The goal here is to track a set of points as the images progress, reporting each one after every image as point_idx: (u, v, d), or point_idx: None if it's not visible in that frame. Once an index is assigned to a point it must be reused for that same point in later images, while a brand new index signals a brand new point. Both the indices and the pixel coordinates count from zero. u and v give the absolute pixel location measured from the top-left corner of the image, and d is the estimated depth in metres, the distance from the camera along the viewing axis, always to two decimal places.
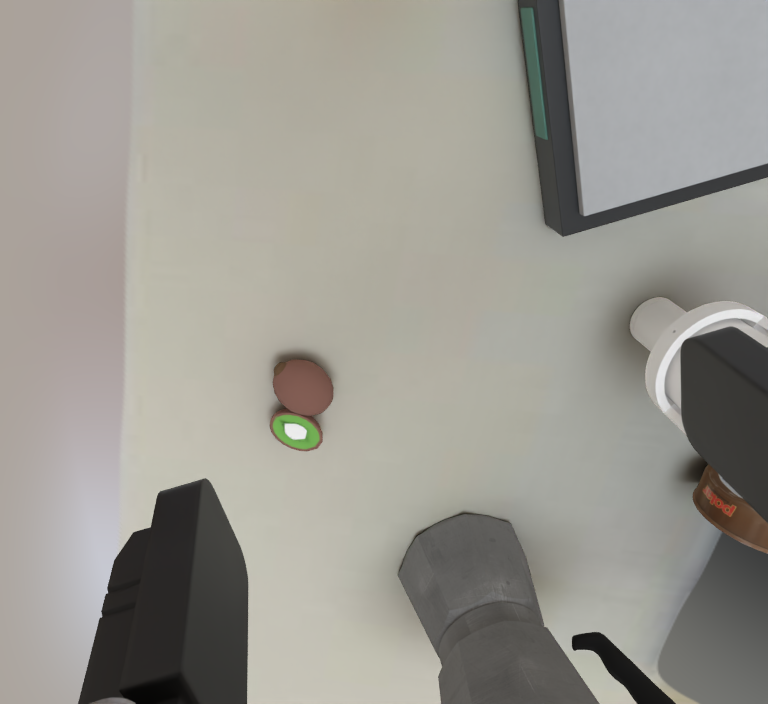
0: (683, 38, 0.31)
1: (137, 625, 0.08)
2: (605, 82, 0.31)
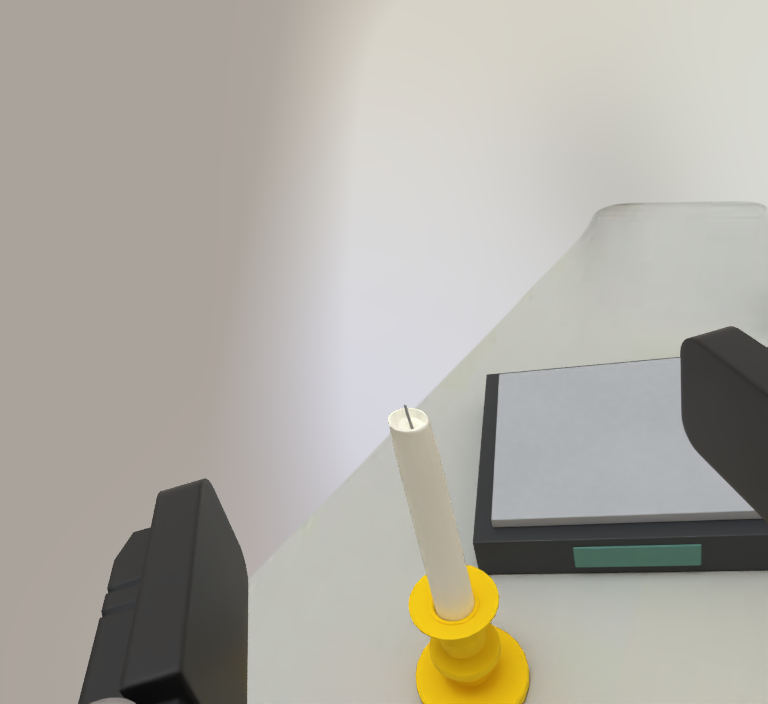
0: (616, 444, 0.38)
1: (137, 625, 0.08)
2: (644, 491, 0.35)
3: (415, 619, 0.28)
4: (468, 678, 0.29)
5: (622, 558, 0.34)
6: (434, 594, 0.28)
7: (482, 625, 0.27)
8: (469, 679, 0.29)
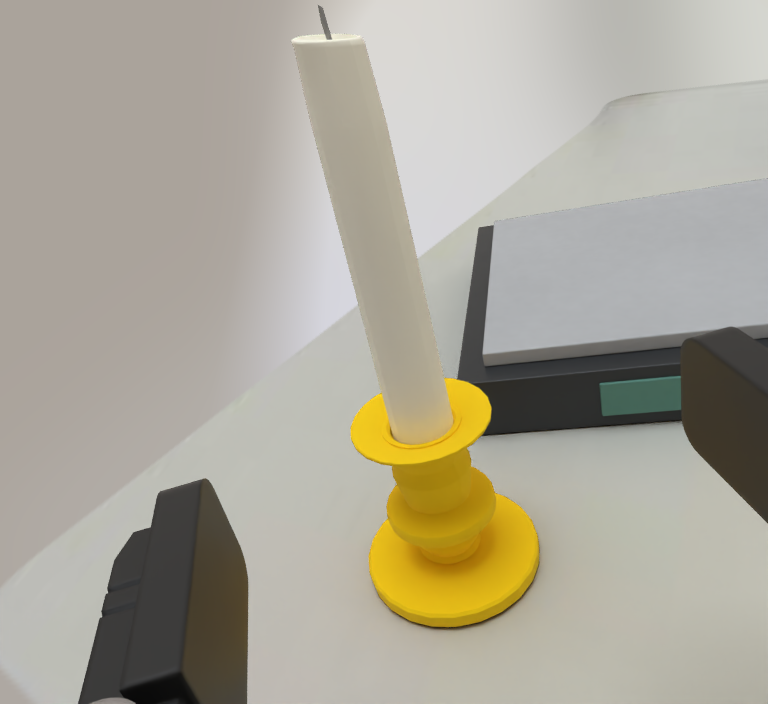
0: (654, 266, 0.28)
1: (137, 625, 0.08)
2: (700, 307, 0.24)
3: (359, 444, 0.18)
4: (445, 541, 0.18)
5: (671, 396, 0.23)
6: (388, 399, 0.17)
7: (464, 443, 0.17)
8: (446, 543, 0.18)
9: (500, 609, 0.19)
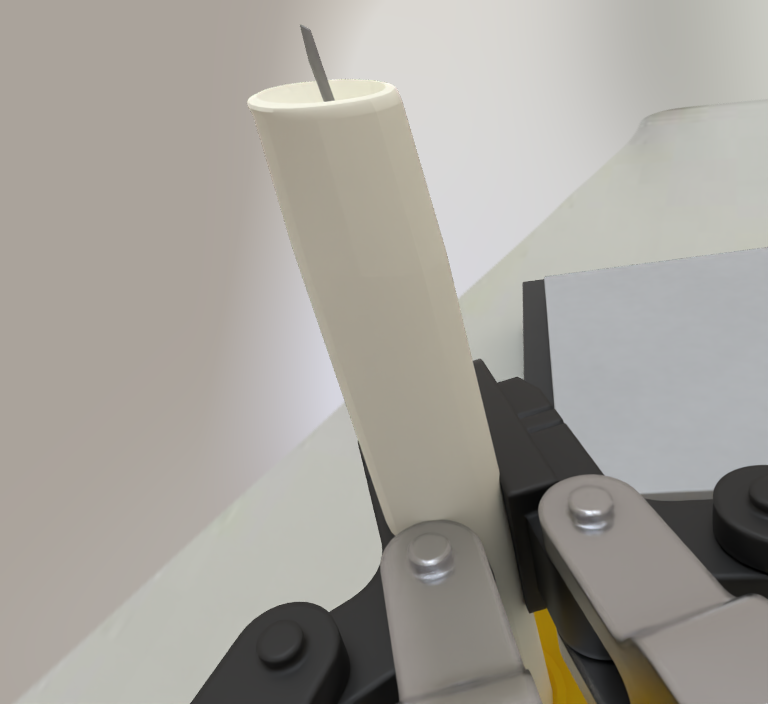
0: None
1: None
2: None
3: None
4: None
5: None
6: None
7: None
8: None
9: None
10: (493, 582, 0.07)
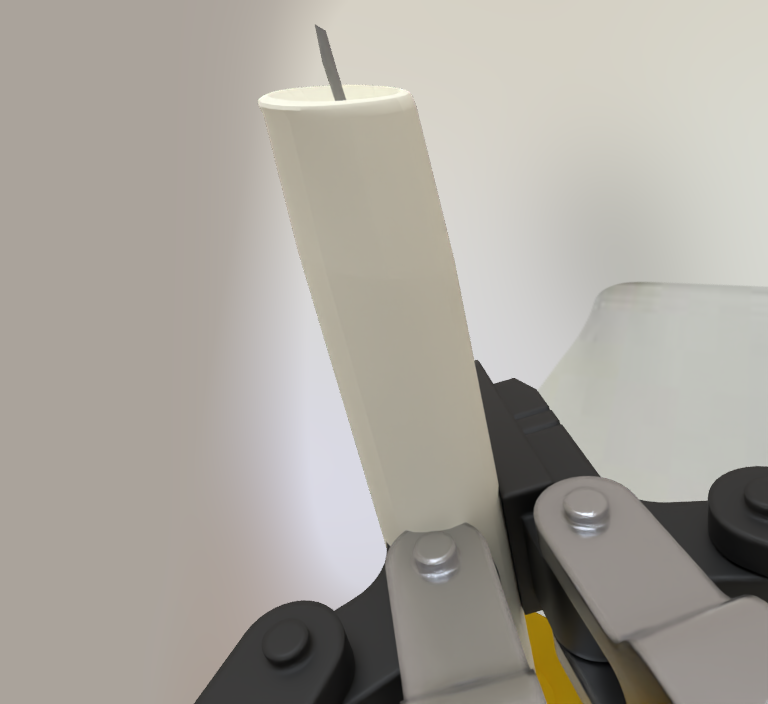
0: None
1: None
2: None
3: None
4: None
5: None
6: None
7: None
8: None
9: None
10: (498, 580, 0.07)
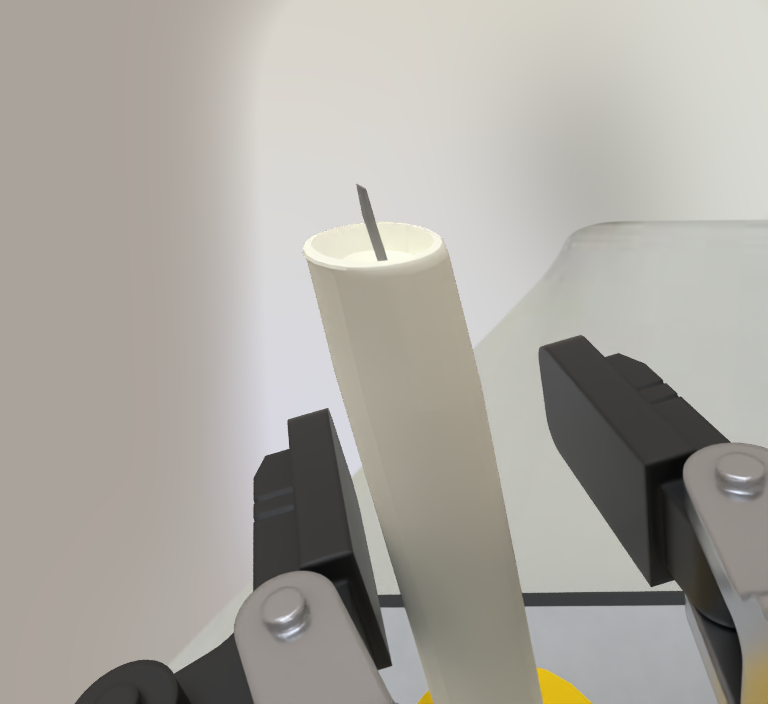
0: None
1: (300, 520, 0.09)
2: None
3: None
4: None
5: None
6: None
7: None
8: None
9: None
10: (339, 641, 0.07)
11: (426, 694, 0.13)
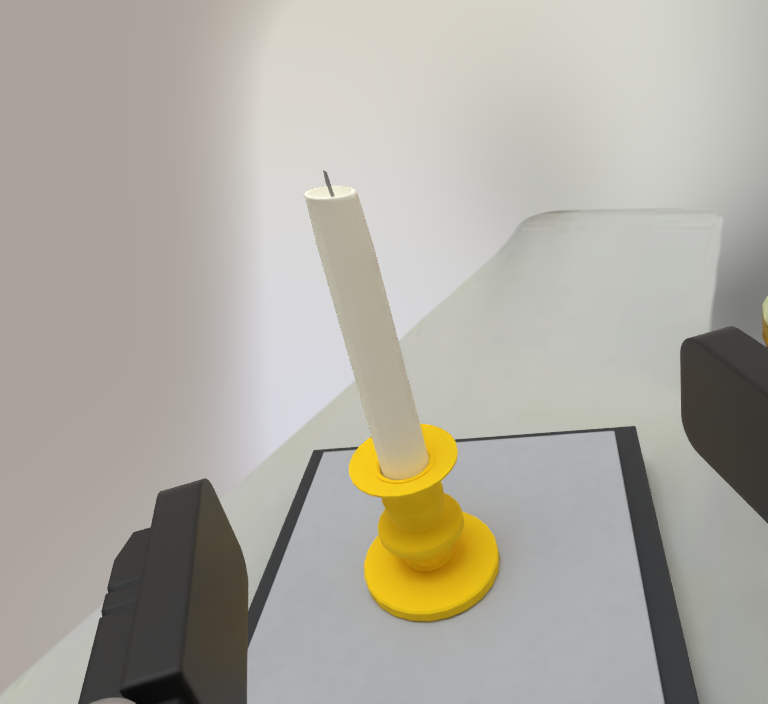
0: None
1: (137, 625, 0.08)
2: (456, 681, 0.22)
3: (361, 485, 0.23)
4: (433, 551, 0.24)
5: None
6: (381, 447, 0.22)
7: (444, 472, 0.22)
8: (434, 553, 0.24)
9: (480, 597, 0.24)
10: None
11: None
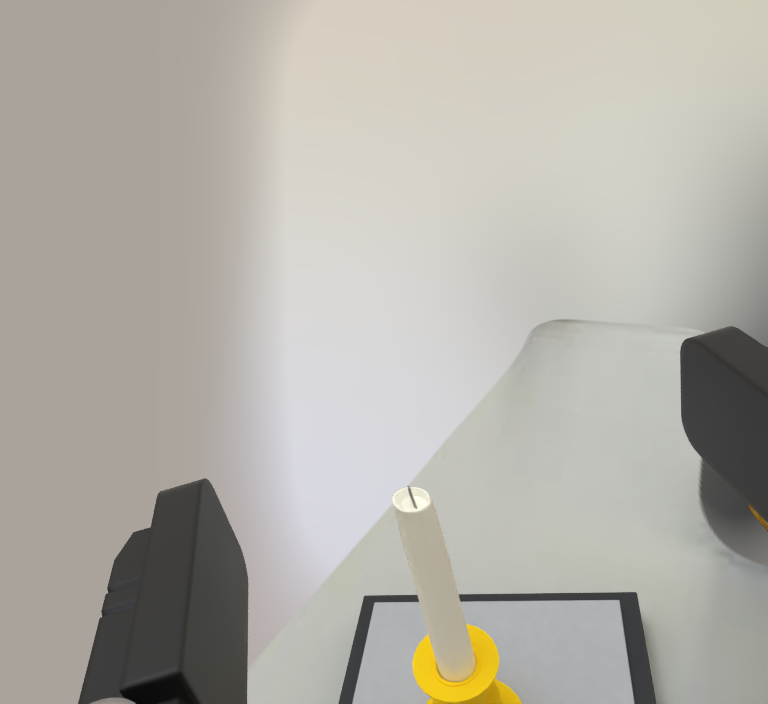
0: None
1: (137, 625, 0.08)
2: None
3: (424, 687, 0.29)
4: None
5: None
6: (440, 659, 0.29)
7: (490, 680, 0.29)
8: None
9: None
10: None
11: (426, 636, 0.31)
